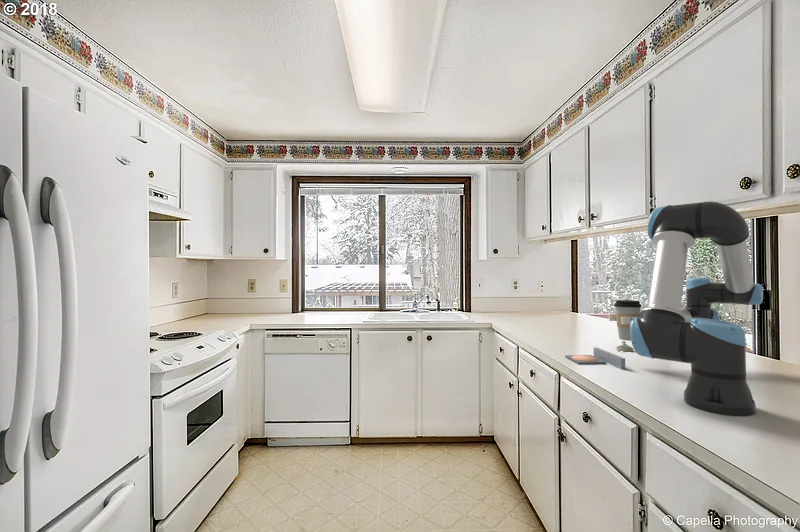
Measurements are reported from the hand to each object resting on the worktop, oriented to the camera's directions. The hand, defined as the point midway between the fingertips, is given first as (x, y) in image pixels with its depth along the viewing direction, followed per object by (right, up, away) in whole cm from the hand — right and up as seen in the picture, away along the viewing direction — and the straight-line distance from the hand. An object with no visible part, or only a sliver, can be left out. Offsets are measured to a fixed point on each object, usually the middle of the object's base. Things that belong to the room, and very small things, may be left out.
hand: (615, 318), depth 150 cm
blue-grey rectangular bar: (-1, -18, +4) cm, 18 cm away
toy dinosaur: (+22, -19, +31) cm, 42 cm away
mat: (-8, -18, +8) cm, 21 cm away
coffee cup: (+5, -8, 0) cm, 9 cm away
